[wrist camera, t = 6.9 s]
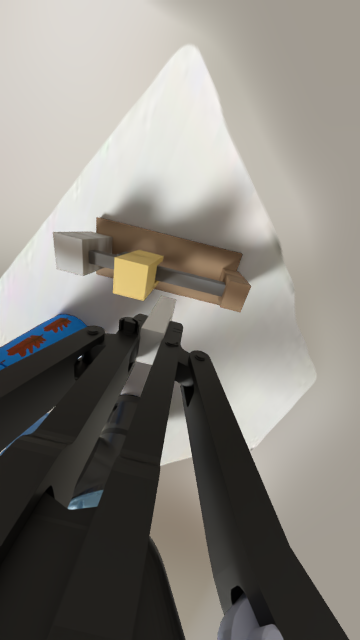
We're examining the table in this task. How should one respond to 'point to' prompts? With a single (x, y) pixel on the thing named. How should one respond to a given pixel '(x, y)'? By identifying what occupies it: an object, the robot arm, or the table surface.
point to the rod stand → (172, 273)
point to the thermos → (39, 338)
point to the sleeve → (135, 274)
